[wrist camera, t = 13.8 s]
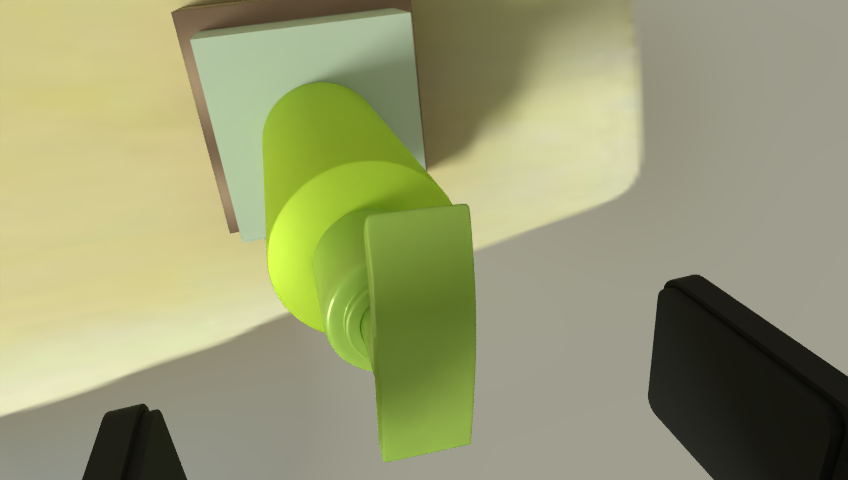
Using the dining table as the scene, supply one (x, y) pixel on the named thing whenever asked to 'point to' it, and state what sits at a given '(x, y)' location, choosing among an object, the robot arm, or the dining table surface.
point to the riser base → (261, 6)
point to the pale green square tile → (295, 66)
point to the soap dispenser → (373, 262)
